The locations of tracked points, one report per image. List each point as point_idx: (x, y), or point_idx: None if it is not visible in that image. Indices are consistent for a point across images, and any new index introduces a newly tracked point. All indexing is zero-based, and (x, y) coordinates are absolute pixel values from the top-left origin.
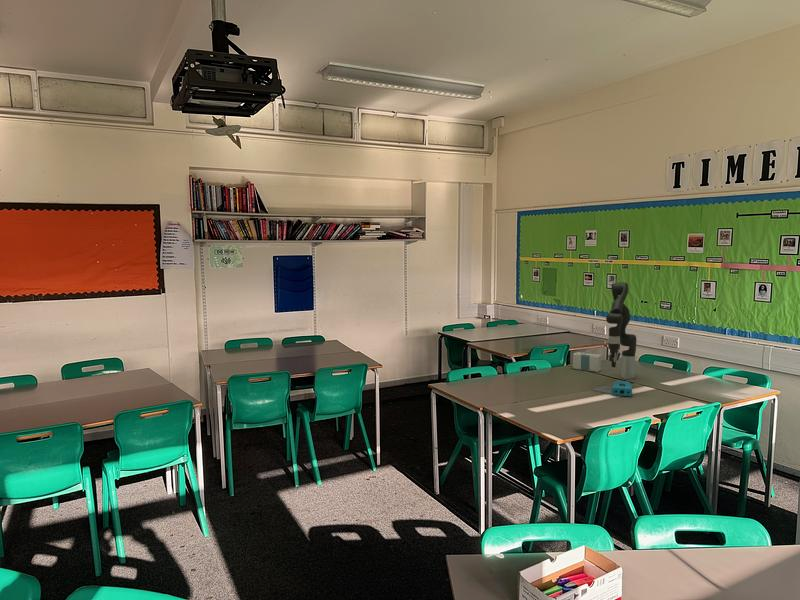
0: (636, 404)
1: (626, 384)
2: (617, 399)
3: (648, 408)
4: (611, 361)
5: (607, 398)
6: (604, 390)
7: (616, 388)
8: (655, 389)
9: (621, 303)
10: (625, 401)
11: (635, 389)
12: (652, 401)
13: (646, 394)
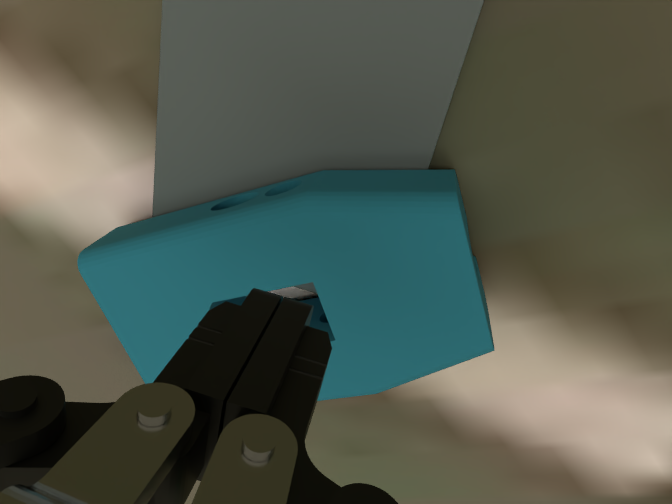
0: None
1: None
2: (64, 285)
3: None
4: (102, 411)
5: (21, 205)
6: (232, 87)
7: (98, 293)
8: (621, 494)
9: None
10: (65, 347)
11: (526, 352)
12: None
13: (381, 447)
